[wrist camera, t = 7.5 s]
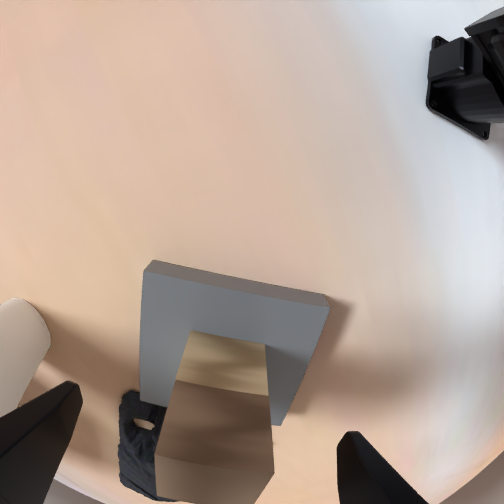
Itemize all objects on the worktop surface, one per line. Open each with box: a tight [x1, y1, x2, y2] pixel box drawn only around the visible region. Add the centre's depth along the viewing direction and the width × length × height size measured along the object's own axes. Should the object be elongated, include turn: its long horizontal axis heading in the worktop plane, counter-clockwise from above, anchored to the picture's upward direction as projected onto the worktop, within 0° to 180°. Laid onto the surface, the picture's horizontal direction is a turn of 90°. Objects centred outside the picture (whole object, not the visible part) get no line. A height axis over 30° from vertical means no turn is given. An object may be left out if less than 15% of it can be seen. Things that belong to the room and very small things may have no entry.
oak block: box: [175, 330, 268, 396], centre depth 18 cm, size 5×5×5 cm
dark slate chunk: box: [118, 391, 178, 502], centre depth 25 cm, size 15×22×5 cm
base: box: [140, 260, 330, 426], centre depth 21 cm, size 12×12×2 cm
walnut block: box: [154, 380, 275, 504], centre depth 13 cm, size 5×5×5 cm
